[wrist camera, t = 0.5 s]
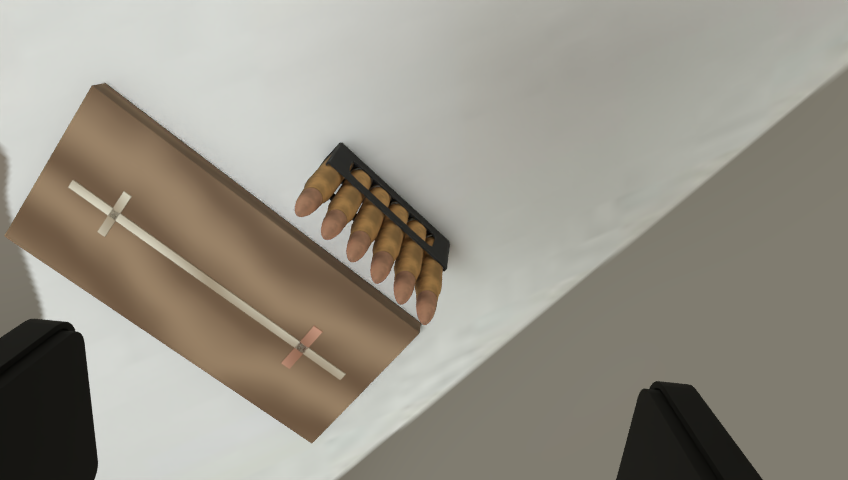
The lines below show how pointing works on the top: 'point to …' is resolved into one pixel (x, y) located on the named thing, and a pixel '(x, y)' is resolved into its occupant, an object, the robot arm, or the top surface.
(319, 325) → the walnut board
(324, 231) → the ammunition clip
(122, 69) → the top surface
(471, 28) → the top surface
